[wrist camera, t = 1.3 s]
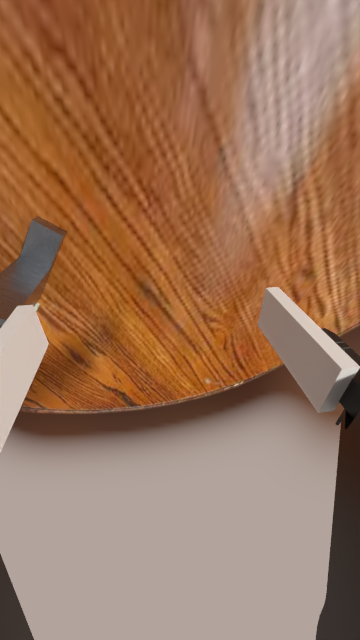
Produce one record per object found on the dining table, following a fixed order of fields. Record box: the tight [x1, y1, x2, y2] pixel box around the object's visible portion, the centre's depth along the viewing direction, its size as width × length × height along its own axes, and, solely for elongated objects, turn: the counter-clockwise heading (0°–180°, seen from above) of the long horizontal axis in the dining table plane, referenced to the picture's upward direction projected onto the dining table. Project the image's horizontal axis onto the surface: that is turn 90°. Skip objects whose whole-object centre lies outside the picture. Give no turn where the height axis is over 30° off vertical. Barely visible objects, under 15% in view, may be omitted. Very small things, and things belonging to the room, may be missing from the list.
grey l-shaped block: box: [0, 217, 67, 328], centre depth 27 cm, size 4×11×14 cm, turn 147°
